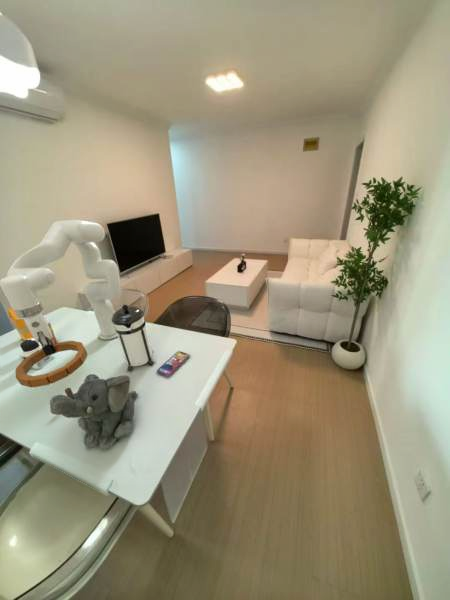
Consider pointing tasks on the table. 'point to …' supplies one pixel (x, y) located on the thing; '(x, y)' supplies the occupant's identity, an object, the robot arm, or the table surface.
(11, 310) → the orange juice
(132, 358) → the coffee press
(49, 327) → the smoothie
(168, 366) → the smartphone
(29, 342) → the container
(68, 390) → the spindle
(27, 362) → the orange-brown ring
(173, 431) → the table surface
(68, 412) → the stuffed elephant
